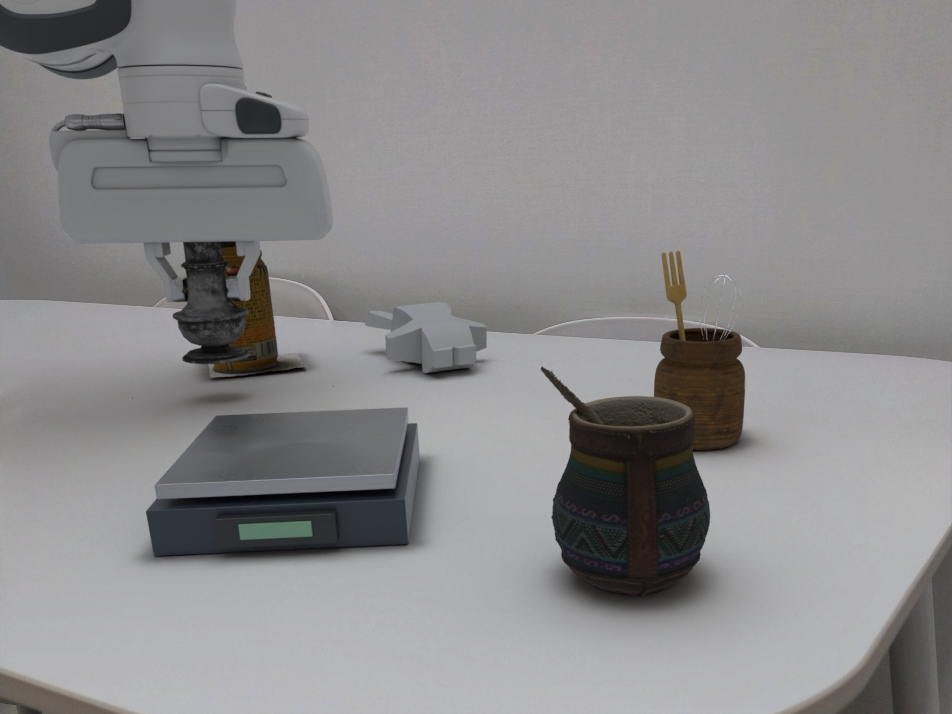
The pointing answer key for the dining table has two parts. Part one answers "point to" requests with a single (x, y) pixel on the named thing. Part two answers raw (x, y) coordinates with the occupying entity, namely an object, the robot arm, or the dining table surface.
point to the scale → (289, 517)
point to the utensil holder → (702, 369)
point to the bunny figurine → (430, 336)
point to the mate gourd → (630, 493)
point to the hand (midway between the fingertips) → (209, 300)
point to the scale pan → (290, 454)
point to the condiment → (254, 324)
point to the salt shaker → (209, 308)
